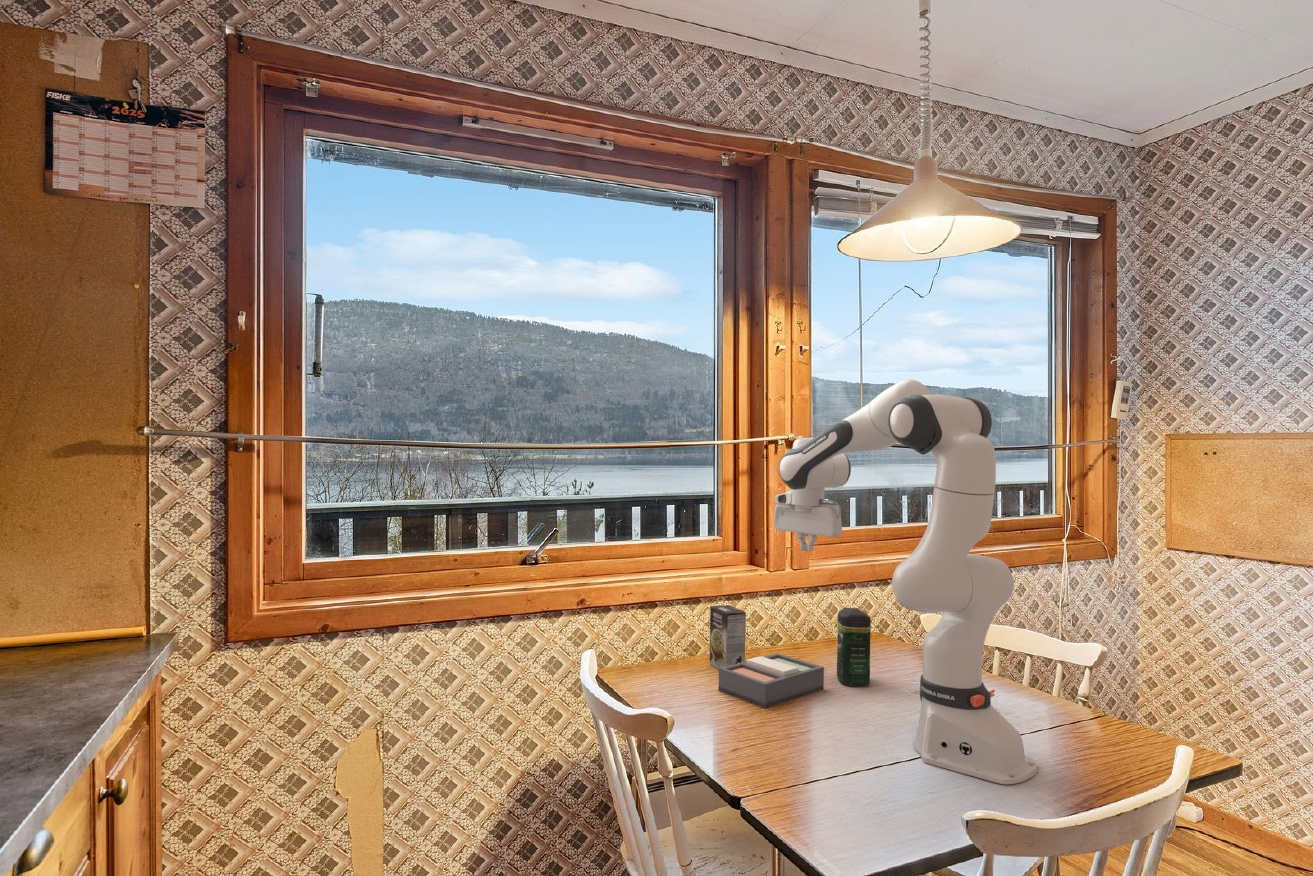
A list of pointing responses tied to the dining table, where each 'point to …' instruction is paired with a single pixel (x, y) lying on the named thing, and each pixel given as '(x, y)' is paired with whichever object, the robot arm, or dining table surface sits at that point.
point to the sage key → (792, 664)
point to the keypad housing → (771, 683)
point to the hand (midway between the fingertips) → (806, 550)
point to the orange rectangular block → (753, 674)
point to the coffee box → (727, 636)
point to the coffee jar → (853, 647)
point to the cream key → (772, 666)
